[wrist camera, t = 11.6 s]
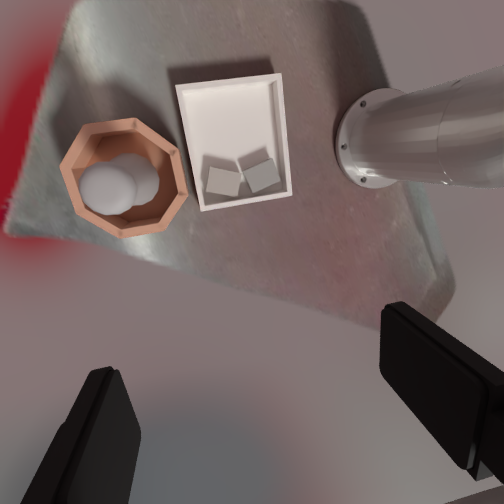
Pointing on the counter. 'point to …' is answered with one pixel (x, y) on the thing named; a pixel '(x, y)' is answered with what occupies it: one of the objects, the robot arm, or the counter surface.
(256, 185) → the grey rectangular block
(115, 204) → the salt shaker
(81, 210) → the bowl
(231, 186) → the beige rectangular block
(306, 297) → the counter surface
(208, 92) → the tray
